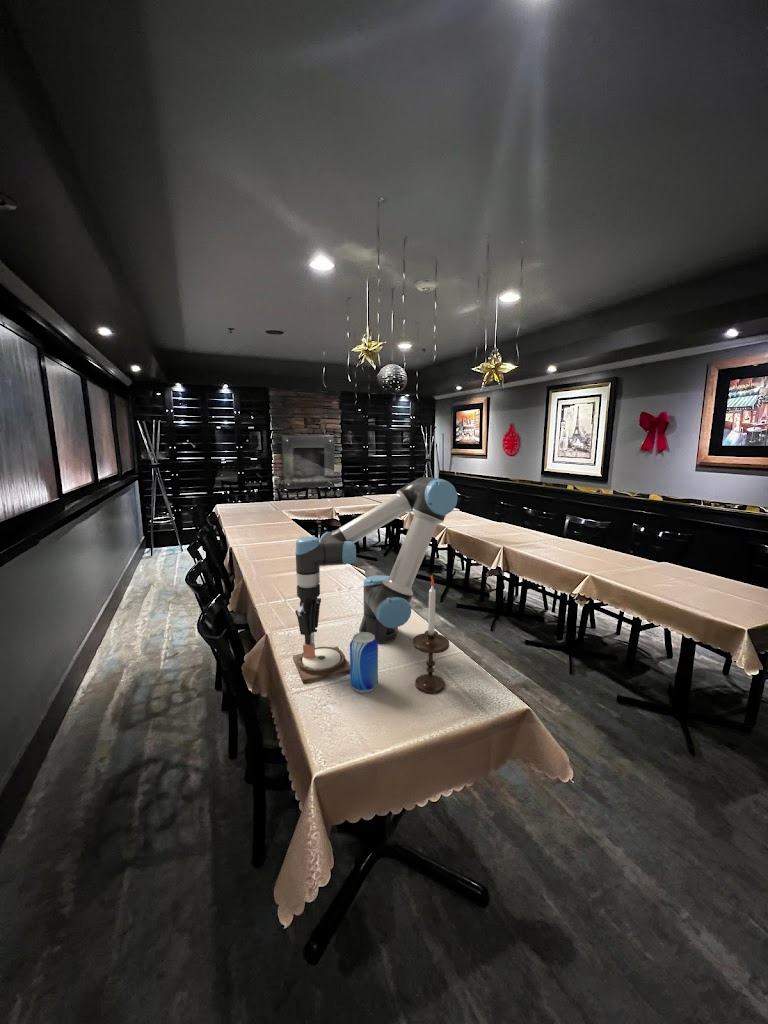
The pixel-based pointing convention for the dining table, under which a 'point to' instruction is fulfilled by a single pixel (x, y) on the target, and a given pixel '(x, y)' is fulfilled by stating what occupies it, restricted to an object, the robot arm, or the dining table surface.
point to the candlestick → (430, 650)
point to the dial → (319, 657)
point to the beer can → (364, 662)
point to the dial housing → (319, 674)
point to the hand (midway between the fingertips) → (309, 650)
